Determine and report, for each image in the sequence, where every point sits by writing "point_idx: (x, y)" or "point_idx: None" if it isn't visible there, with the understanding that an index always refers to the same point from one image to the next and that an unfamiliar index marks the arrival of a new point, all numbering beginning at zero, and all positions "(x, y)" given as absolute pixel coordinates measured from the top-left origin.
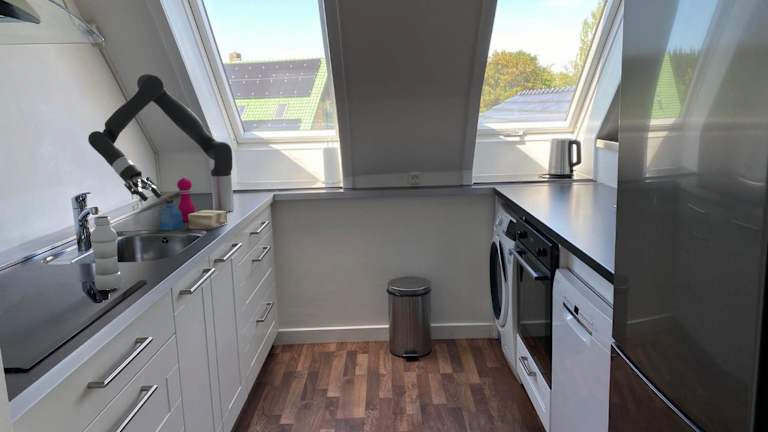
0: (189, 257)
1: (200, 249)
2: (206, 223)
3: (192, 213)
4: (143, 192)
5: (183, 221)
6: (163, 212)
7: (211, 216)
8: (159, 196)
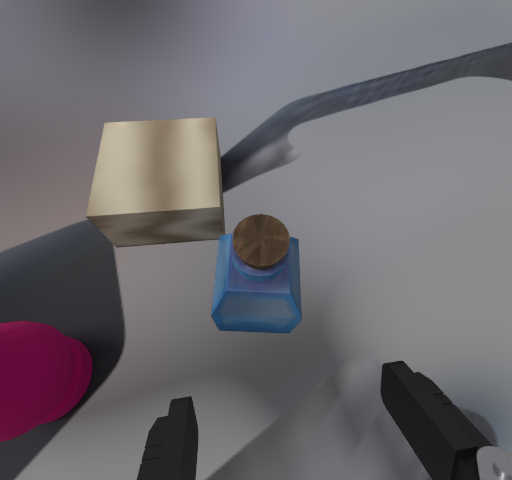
0: (466, 56)
1: (411, 70)
2: (219, 158)
3: (190, 205)
4: (439, 430)
5: (91, 370)
6: (296, 286)
7: (214, 120)
8: (194, 410)
